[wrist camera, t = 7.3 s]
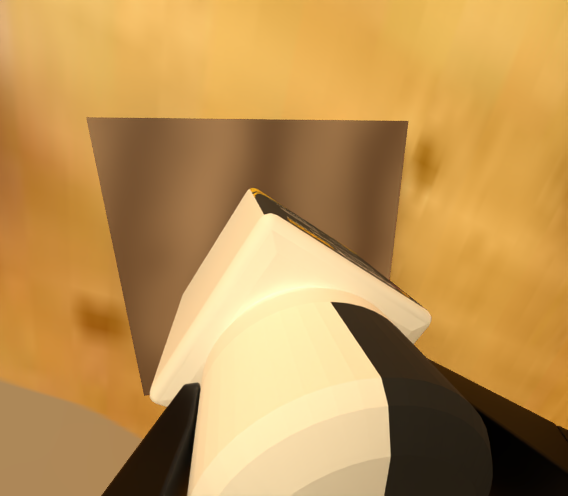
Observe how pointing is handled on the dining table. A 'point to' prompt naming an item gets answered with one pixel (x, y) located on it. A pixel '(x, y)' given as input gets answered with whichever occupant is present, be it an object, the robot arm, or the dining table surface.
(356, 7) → the dining table surface
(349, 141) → the walnut plinth
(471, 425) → the medicine bottle
